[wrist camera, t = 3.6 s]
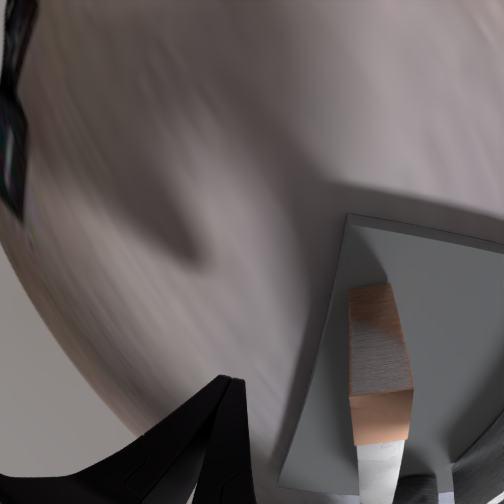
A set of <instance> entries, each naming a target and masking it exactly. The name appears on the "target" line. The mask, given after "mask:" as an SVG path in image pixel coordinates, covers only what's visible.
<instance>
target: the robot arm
mask: <svg viewBox="0 0 504 504" xmlns="http://www.w3.org/2000/svg"><path fill="white" fill-rule="evenodd" d="M197 481H198V482H197ZM196 483H197V486H196V489H195V493H194V497H193V500H192V504H257V503H256V498H255V493H254V486H253V478H252V469H251V454H250V441H249V428H248V414H247V400H246V386H245V380H243V379H239V378H232V377H230V376H226V375H218V376H217V377H216V378H214V379H213V380H212V381H211V382H210V383H208V384H207V385H206V386H205V387H203V388H202V389H201V390H200V391H199V392H197V393H196V394H195V395H194V396H192V397H191V398H190V399H189V400H187V401H186V402H185V403H184V404H182V405H181V406H180V407H178V408H177V409H176V410H175V411H173V412H172V413H171V414H169V415H168V416H167V417H166V418H164V419H163V420H162V421H160V422H159V423H158V424H156V425H155V426H154V427H152V428H151V429H150V430H148V431H147V432H146V433H144V435H142V436H140V437H139V438H138V439H136V440H135V441H133V442H132V443H131V444H129V445H128V446H126V447H125V448H123V449H122V450H120V451H118V452H116V453H114V454H113V455H111V456H109V457H107V458H105V459H103V460H102V461H100V462H98V463H96V464H94V465H92V466H90V467H88V468H86V469H84V470H81V471H79V472H77V473H74V474H71V475H68V476H61V477H33V478H32V477H9V476H5V475H3V474H0V504H186V503H187V501H188V499H189V497H190V495H191V493H192V491H193V489H194V487H195V485H196Z"/></svg>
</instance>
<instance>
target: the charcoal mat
mask: <svg viewBox="0 0 504 504" xmlns="http://www.w3.org/2000/svg"><path fill="white" fill-rule="evenodd" d="M384 283H391V287H392V290H393V294H394V298H395V302H396V306H397V309H398V313H399V318H400V322H401V326H402V330H403V335H404V339H405V344H406V349H407V353H408V358H409V363H410V369H411V374H412V380H413V385H414V393H413V403H412V411H411V419H410V426H409V432H408V439H407V440H405V443H404V449H403V455H402V460H401V465H400V471H399V475H398V480H399V479H403V478H407V477H413V476H433V477H435V478H436V479H437V484H438V493H445V492H453V491H454V488H453V478H452V469H451V467H452V466H453V465H454V464H455V463H456V462H457V461H458V460H459V459H460V458H461V457H462V456H463V455H464V454H465V453H467V452H468V451H469V450H470V449H471V447H472V446H473V445H474V444H475V443H476V442H477V441H478V440H479V439H480V438H481V437H482V436H483V435H484V434H485V433H486V432H487V430H488V429H489V428H490V427H491V426H492V425H493V424H494V423H495V421H496V420H497V419H498V418H499V417H500V416H501V414H502V413H503V412H504V245H503V244H499V243H494V242H490V241H486V240H481V239H477V238H473V237H468V236H464V235H459V234H454V233H450V232H445V231H440V230H435V229H430V228H425V227H420V226H415V225H410V224H405V223H399V222H394V221H389V220H383V219H378V218H372V217H366V216H360V215H354V214H348V213H347V218H346V224H345V230H344V235H343V240H342V246H341V251H340V256H339V261H338V266H337V271H336V276H335V280H334V285H333V289H332V294H331V298H330V303H329V307H328V311H327V316H326V320H325V324H324V328H323V332H322V336H321V340H320V344H319V348H318V351H317V355H316V359H315V363H314V366H313V370H312V373H311V377H310V380H309V384H308V387H307V391H306V394H305V398H304V401H303V404H302V407H301V411H300V414H299V417H298V420H297V423H296V427H295V430H294V433H293V436H292V439H291V442H290V445H289V448H288V451H287V453H286V456H285V459H284V462H283V465H282V468H281V470H280V473H279V476H278V481H277V485H276V487H282V488H288V489H295V490H302V491H310V492H319V493H329V494H341V495H360V491H359V472H358V457H357V446H354V437H353V427H352V418H351V409H350V400H349V381H350V333H349V299H348V289H353V288H359V287H366V286H372V285H378V284H384Z"/></svg>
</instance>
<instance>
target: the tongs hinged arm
mask: <svg viewBox="0 0 504 504" xmlns="http://www.w3.org/2000/svg"><path fill="white" fill-rule="evenodd" d="M348 299H349V333H350V381H349V400H350V409H351V418H352V427H353V437H354V446H357V457H358V472H359V491H360V504H439V500H438V484H437V479H436V478H435V477H433V476H413V477H407V478H403V479H399V480H398V475H399V471H400V465H401V460H402V455H403V449H404V443H405V440H407V439H408V432H409V426H410V419H411V411H412V403H413V393H414V385H413V380H412V374H411V369H410V363H409V358H408V353H407V349H406V344H405V339H404V335H403V330H402V326H401V322H400V318H399V313H398V309H397V306H396V302H395V298H394V294H393V290H392V287H391V283H384V284H378V285H372V286H366V287H359V288H353V289H348Z"/></svg>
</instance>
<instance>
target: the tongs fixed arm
mask: <svg viewBox="0 0 504 504" xmlns="http://www.w3.org/2000/svg"><path fill="white" fill-rule="evenodd" d="M451 469H452V478H453V488H454V500H455V504H498V503H499V502H501V501H502V500H503V499H504V412H503V413H502V414H501V416H500V417H499V418H498V419H497V420H496V421H495V423H494V424H493V425H492V426H491V427H490V428H489V429H488V430H487V432H486V433H485V434H484V435H483V436H482V437H481V438H480V439H479V440H478V441H477V442H476V443H475V444H474V445H473V446H472V447H471V449H470V450H469V451H468V452H467V453H465V454H464V455H463V456H462V457H461V458H460V459H459V460H458V461H457V462H456V463H455V464H454V465H453V466H452V467H451Z"/></svg>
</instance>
